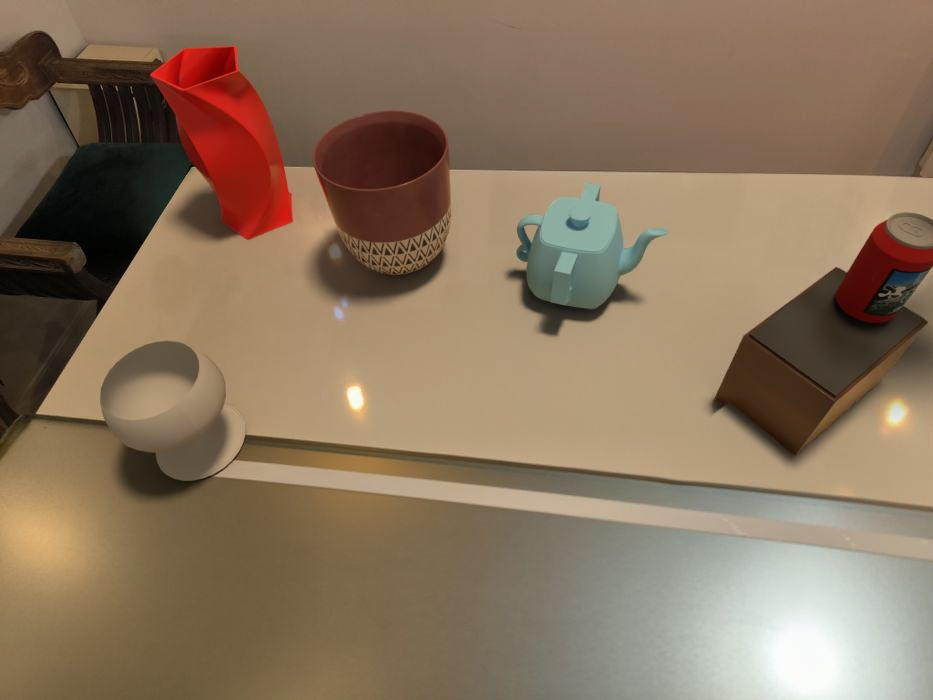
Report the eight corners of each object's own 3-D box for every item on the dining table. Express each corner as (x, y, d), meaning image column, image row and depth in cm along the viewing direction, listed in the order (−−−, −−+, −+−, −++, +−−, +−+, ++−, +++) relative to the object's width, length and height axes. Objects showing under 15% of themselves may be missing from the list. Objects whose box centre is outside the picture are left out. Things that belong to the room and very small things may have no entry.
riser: (797, 334, 88) (837, 264, 77) (875, 387, 82) (931, 319, 71) (713, 398, 82) (744, 333, 71) (790, 461, 76) (837, 400, 65)
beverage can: (877, 336, 70) (933, 260, 60) (821, 305, 73) (867, 229, 64) (905, 306, 72) (964, 228, 63) (850, 277, 76) (898, 199, 66)
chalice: (273, 438, 83) (232, 375, 71) (181, 509, 77) (121, 453, 65) (219, 382, 89) (174, 315, 78) (132, 443, 84) (69, 381, 72)
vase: (310, 195, 116) (262, 47, 94) (279, 245, 107) (218, 96, 85) (239, 187, 119) (176, 42, 97) (203, 236, 110) (125, 90, 88)
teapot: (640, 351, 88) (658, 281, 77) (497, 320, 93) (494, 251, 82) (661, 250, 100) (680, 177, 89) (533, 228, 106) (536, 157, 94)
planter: (326, 287, 100) (287, 178, 83) (373, 212, 111) (347, 103, 94) (436, 310, 95) (419, 200, 79) (474, 229, 107) (466, 118, 90)
